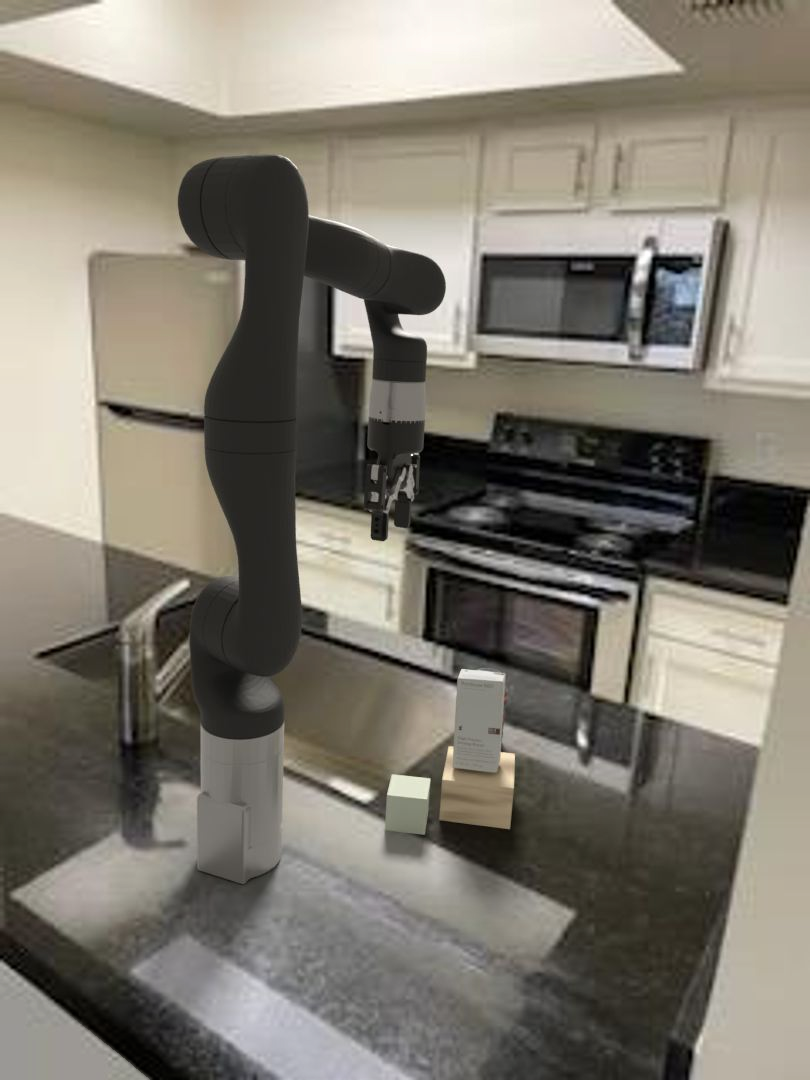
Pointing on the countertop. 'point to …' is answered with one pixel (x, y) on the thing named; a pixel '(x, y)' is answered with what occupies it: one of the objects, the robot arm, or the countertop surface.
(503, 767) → the maple block
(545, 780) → the countertop surface
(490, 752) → the skincare box
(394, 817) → the sage block
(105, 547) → the countertop surface
